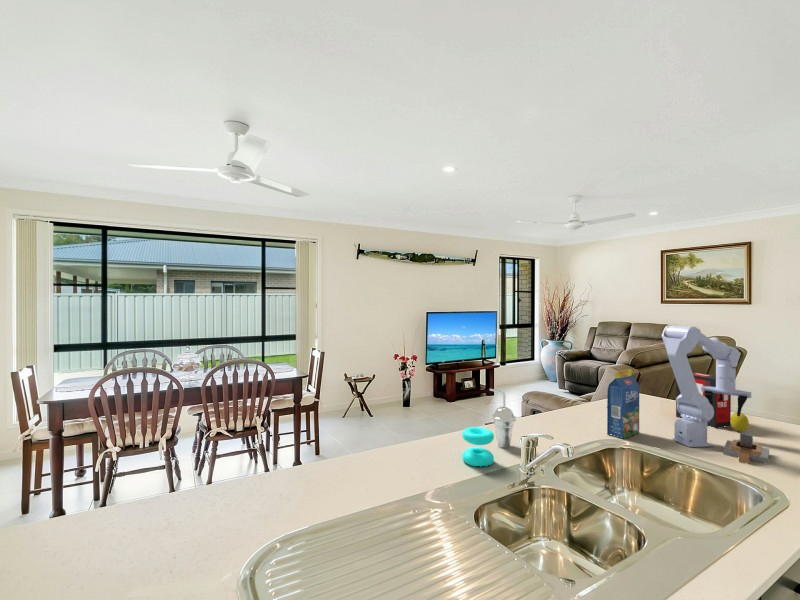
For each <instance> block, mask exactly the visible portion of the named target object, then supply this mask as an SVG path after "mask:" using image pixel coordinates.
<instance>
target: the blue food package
mask: <svg viewBox="0 0 800 600" xmlns="http://www.w3.org/2000/svg"><path fill="white" fill-rule="evenodd" d="M614 373H615V374H614V379H613V380H612V381H611V382H610V383H609V384H608V387H607V395H606V397H607V400H606V403H607V404H606V405H607V410H606V412H607V413H606V414H607V415H606V416H607V417H606V421H607V423H606V425H607V426H606V427H607V428H606V430H607V431H606V434H607V435H608V434H612V435H615V436H618V437H622V438H624V439H627V438H629V436H630V437H633V436H632V435H634V436H635V434H636V435H637V434H640V386H639V382H637V380H636V379H635V377H634V376H633V375H632V374H633V369H632V368H629V369H623V370H616V371H615V372H614ZM626 437H627V438H626Z"/></svg>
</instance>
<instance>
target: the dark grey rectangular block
mask: <svg viewBox="0 0 800 600" xmlns="http://www.w3.org/2000/svg"><path fill="white" fill-rule="evenodd" d="M753 440H754V433H752V432H751V433H750V432H746V431H741V432H739V441H740V447H744V448H748V449H753V443H754V441H753Z"/></svg>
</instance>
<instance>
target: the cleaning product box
mask: <svg viewBox="0 0 800 600" xmlns="http://www.w3.org/2000/svg"><path fill="white" fill-rule="evenodd" d="M692 373H693V376H694V379H695V382H696V385H697V388H698V391H699V393H700V394H701V395H703V396H704V397H706V396H705V394H704V393H705V392H702V391H701V386H708V387H716V374H714V375H713V374H708V373H702V372H697V371H692ZM675 382H676V383H675V384H676V385H675V386H676V387H675V390H676V391H675V395H676V396H675V399H676V398H677V397H678V396H679V395H680V394H681V392H680V389H679V386H678V384H677V381H676V380H675ZM731 396H732V395H726V394H719V393H714V415H713V417H712V419H711V420H710V421H707V427H709V426H711V427H710V428H712V427H714V428H713V429H719V428H718V427H722V428H725V427H724V426H729V427H732V426H731V423H730V419H731V416H732V415H731V411H732V409H731V408H732V406H731V403H732V398H731ZM675 417H676V418H678V419H681V418H682V417H681V414H680V413H679V412H678V410H677V401H676V400H675Z"/></svg>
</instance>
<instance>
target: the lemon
mask: <svg viewBox="0 0 800 600" xmlns="http://www.w3.org/2000/svg"><path fill="white" fill-rule="evenodd" d="M730 423H731V426H730V427H732V428H733V429H734V430H735V431H737V432H738V431H739V432H738V433H741V431H742V432H745V431H746V430H747V429H748V428H749V424H750V423H749V419H748V417H747V415H745V414H744V413H742V412H741V413H740V416H737V412H735V413H733V414H732V415H731V419H730Z"/></svg>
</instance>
